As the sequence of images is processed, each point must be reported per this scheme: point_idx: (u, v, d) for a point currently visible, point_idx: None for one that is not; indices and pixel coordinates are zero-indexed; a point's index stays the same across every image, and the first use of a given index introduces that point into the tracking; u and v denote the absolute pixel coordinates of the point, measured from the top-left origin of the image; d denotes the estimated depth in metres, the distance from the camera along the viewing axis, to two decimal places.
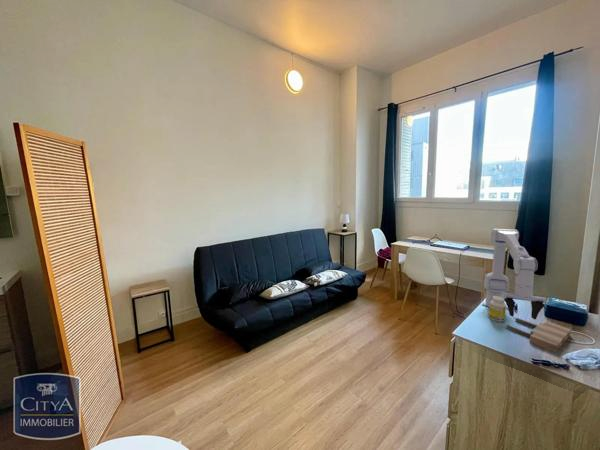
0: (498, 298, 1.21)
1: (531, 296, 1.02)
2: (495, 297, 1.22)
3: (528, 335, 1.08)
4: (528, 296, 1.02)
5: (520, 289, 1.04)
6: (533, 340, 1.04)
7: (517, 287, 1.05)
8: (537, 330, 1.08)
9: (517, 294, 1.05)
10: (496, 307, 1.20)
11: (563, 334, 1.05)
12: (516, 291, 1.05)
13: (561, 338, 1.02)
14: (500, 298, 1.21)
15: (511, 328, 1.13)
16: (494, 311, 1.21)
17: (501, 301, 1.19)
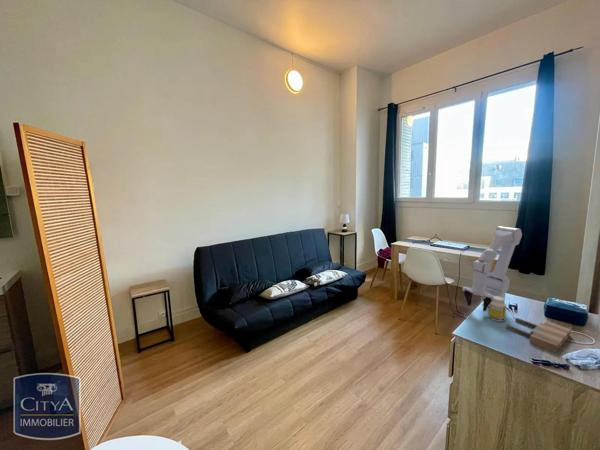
0: (498, 298, 1.21)
1: (480, 292, 1.26)
2: (495, 297, 1.22)
3: (528, 335, 1.08)
4: (477, 292, 1.27)
5: (472, 285, 1.29)
6: (533, 340, 1.04)
7: (472, 284, 1.30)
8: (537, 330, 1.08)
9: (471, 289, 1.30)
10: (496, 307, 1.20)
11: (563, 334, 1.05)
12: (472, 287, 1.30)
13: (561, 338, 1.02)
14: (500, 298, 1.21)
15: (511, 328, 1.13)
16: (494, 311, 1.21)
17: (501, 301, 1.19)
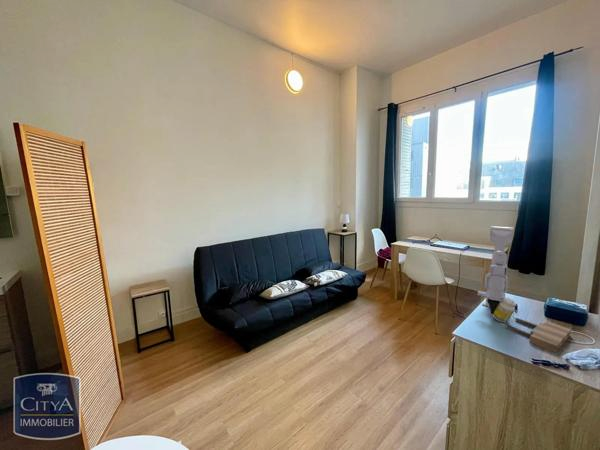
0: (509, 301, 1.17)
1: (497, 297, 1.20)
2: (506, 299, 1.18)
3: (528, 335, 1.08)
4: (494, 297, 1.20)
5: (489, 290, 1.23)
6: (533, 340, 1.04)
7: (488, 288, 1.23)
8: (537, 330, 1.08)
9: (488, 294, 1.24)
10: (505, 309, 1.17)
11: (563, 334, 1.05)
12: None
13: (561, 338, 1.02)
14: None
15: (511, 328, 1.13)
16: (501, 313, 1.18)
17: (512, 305, 1.15)
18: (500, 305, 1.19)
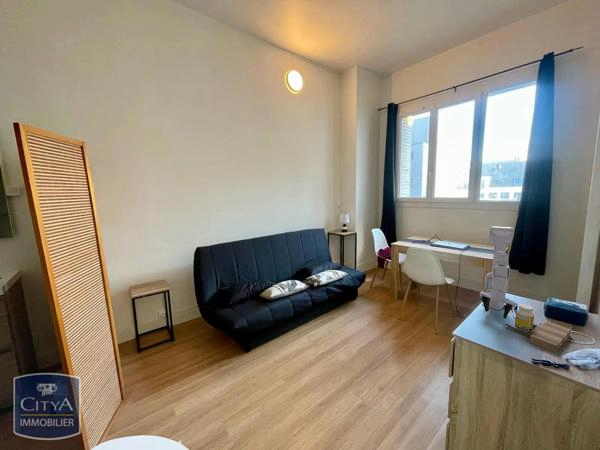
0: (525, 307, 1.12)
1: (500, 298, 1.19)
2: (522, 305, 1.13)
3: (528, 335, 1.08)
4: (496, 298, 1.20)
5: (491, 291, 1.22)
6: (533, 340, 1.04)
7: (491, 289, 1.23)
8: (537, 330, 1.08)
9: (490, 295, 1.23)
10: (523, 316, 1.11)
11: (563, 334, 1.05)
12: (490, 292, 1.23)
13: (561, 338, 1.02)
14: (528, 307, 1.12)
15: (511, 328, 1.13)
16: (521, 321, 1.12)
17: (529, 310, 1.11)
18: (517, 313, 1.14)
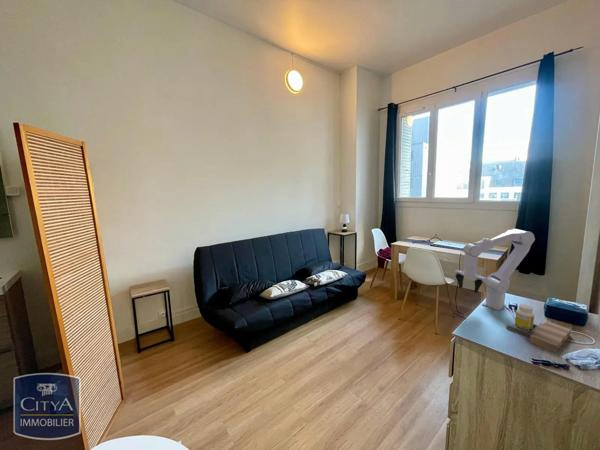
0: (525, 307, 1.12)
1: (471, 274, 1.31)
2: (522, 305, 1.13)
3: (528, 335, 1.08)
4: (468, 274, 1.31)
5: (464, 268, 1.33)
6: (533, 340, 1.04)
7: (464, 266, 1.34)
8: (537, 330, 1.08)
9: (463, 272, 1.35)
10: (523, 316, 1.11)
11: (563, 334, 1.05)
12: None
13: (561, 338, 1.02)
14: (528, 307, 1.12)
15: (511, 328, 1.13)
16: (521, 321, 1.12)
17: (529, 310, 1.10)
18: (517, 313, 1.14)
